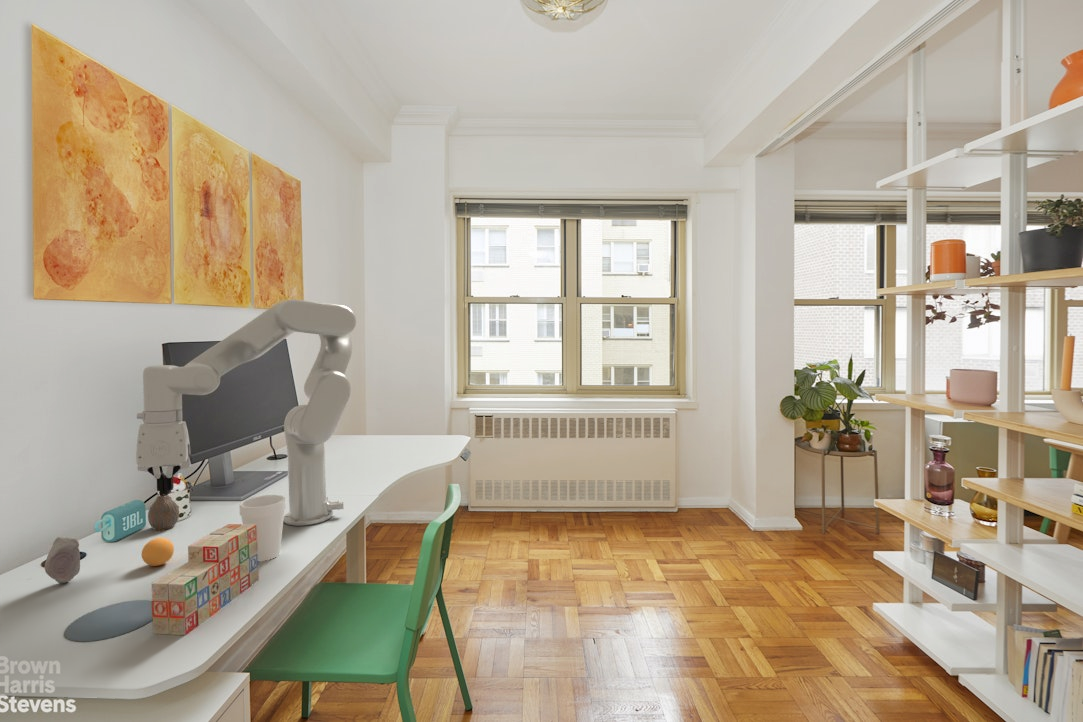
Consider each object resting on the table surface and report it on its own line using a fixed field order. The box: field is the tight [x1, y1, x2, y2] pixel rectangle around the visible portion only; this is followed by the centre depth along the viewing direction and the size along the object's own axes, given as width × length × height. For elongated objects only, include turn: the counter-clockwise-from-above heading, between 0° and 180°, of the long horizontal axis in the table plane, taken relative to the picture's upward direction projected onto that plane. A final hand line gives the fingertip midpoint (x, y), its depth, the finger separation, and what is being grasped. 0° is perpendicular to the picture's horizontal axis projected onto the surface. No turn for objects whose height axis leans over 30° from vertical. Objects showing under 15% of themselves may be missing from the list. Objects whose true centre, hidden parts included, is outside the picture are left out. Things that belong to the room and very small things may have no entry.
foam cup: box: [239, 494, 286, 562], centre depth 129 cm, size 10×9×13 cm
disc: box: [64, 599, 153, 643], centre depth 102 cm, size 14×14×1 cm
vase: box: [147, 494, 180, 531], centre depth 148 cm, size 7×7×9 cm
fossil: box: [44, 536, 81, 584], centre depth 116 cm, size 6×4×10 cm, turn 148°
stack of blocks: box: [151, 523, 260, 636], centre depth 107 cm, size 21×6×12 cm, turn 175°
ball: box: [141, 537, 175, 567], centre depth 125 cm, size 6×6×6 cm
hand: (165, 493), depth 133 cm, fingers closed
